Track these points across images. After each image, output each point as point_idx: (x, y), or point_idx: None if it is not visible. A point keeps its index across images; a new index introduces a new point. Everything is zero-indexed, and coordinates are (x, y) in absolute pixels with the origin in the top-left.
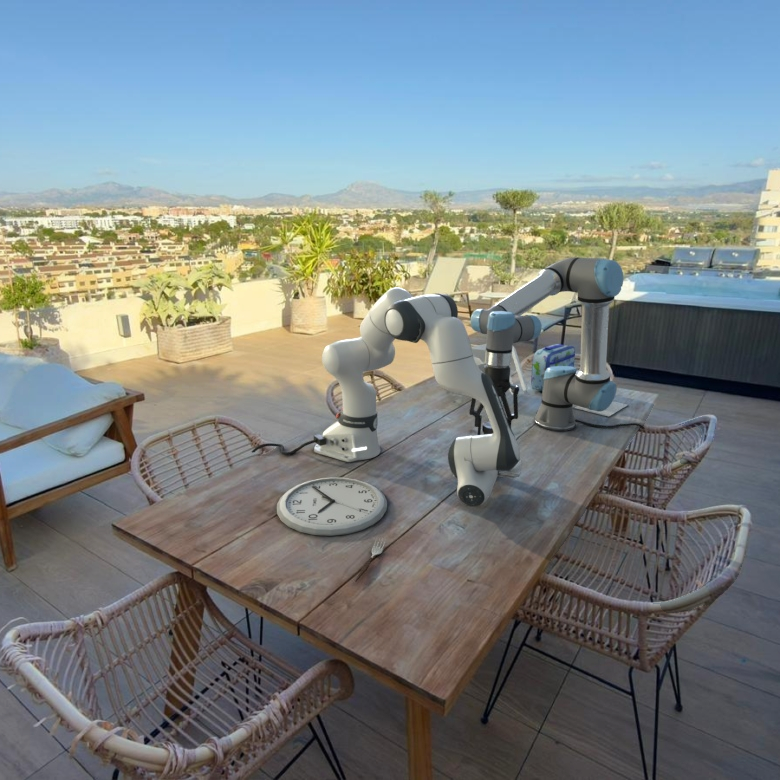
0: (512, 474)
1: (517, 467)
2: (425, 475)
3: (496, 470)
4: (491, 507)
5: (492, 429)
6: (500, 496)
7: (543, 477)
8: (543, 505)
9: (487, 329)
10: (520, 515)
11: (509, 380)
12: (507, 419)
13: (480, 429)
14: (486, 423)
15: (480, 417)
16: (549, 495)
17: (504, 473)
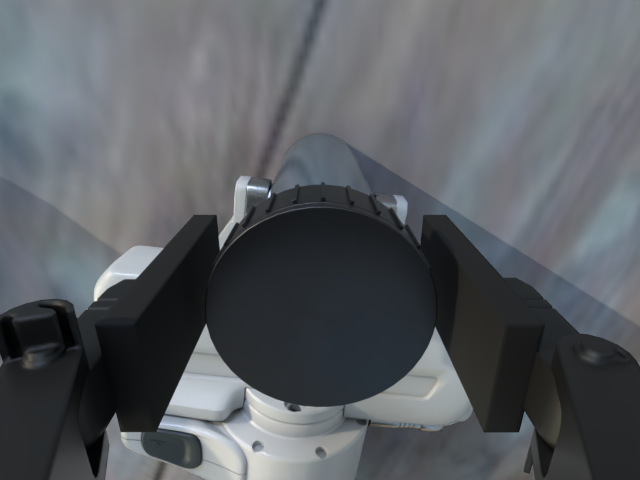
0: (434, 431)
1: (468, 408)
2: (42, 264)
3: (359, 460)
4: None
5: (322, 401)
6: None
7: (592, 145)
8: None
9: None
10: (432, 445)
11: None
12: (527, 397)
13: (201, 331)
14: (242, 283)
15: (136, 406)
16: (567, 307)
17: (396, 427)
